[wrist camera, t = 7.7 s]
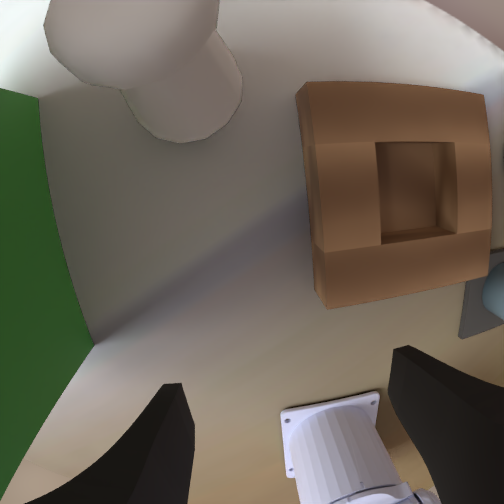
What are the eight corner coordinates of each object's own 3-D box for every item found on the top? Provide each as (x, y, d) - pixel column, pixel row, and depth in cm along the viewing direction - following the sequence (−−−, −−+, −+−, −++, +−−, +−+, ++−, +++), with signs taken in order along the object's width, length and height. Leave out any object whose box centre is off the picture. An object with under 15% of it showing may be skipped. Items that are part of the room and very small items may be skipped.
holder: (463, 262, 21) (487, 275, 18) (314, 289, 20) (327, 309, 17) (457, 99, 17) (483, 94, 14) (295, 94, 17) (306, 81, 14)
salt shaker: (233, 45, 16) (238, -113, 4) (249, 135, 18) (285, 69, 5) (137, 66, 16) (18, -45, 4) (149, 154, 18) (6, 144, 5)
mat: (509, 317, 22) (513, 319, 22) (458, 336, 22) (461, 339, 22) (520, 244, 21) (525, 246, 20) (468, 255, 20) (472, 257, 20)
